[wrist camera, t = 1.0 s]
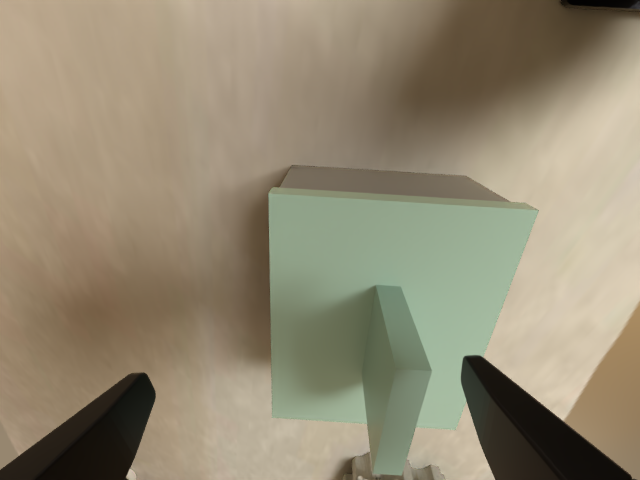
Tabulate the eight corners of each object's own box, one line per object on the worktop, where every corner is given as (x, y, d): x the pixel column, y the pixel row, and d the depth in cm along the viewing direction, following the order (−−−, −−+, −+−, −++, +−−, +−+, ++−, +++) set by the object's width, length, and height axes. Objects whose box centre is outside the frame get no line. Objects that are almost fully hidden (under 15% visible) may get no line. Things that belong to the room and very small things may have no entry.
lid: (513, 196, 15) (651, 271, 8) (444, 400, 21) (494, 534, 14) (276, 181, 15) (234, 245, 8) (277, 389, 21) (253, 517, 15)
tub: (466, 175, 19) (519, 206, 14) (422, 344, 25) (447, 412, 20) (291, 165, 19) (277, 191, 14) (289, 335, 25) (277, 401, 20)
